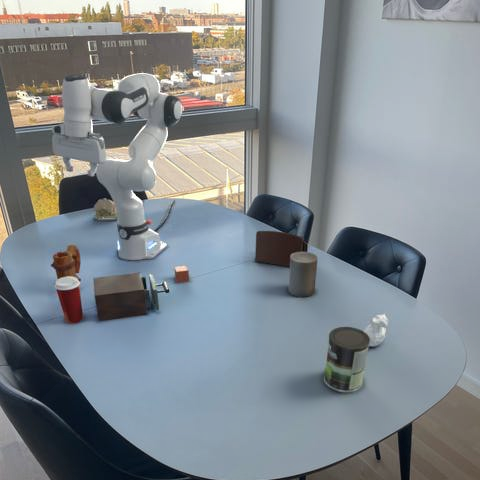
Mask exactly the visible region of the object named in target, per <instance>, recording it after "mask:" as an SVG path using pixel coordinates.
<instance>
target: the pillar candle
mask: <svg viewBox="0 0 480 480" xmlns="http://www.w3.org/2000/svg"><path fill="white" fill-rule="evenodd" d="M317 269H318V256H317V255H316V254H315V253H313V252H309V251H307V252H296V253H293V254H291V256H290V267H289V275H288V292H289V294H291V295H292V296H294V297H298V298H306V297H310V296H313V295H314V294H315V292H316V291H315V290H316V280H317V271H318V270H317Z"/></svg>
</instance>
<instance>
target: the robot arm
mask: <svg viewBox="0 0 480 480" xmlns="http://www.w3.org/2000/svg"><path fill="white" fill-rule="evenodd" d="M61 88H62V89H61V97H62V99H61V101H62V107H63V111H64V114H63V123H60V124H56V125H53V126H52V127H51V131H52V133H53V135H52V139H51V140H52V142H51V145H52V152H53V154H54V155H55V156H56V157H61V158H62V162H63V163H64V166H65V171H66V172H70V173H71V172H74V166H73V165H72V164H71V162H70V161H71V160H76V161H81V162H86V163H89V166H90V168H89V170H88V169H87V176H89V177H95V175H96V178H97V181H98V182H99V183H100V184H101V185H102V186H103V187H104V188H105V189H106V190H107V192H108V194H109V195H110V197H111V199H112V202H114V204H115V207H116V213H117V223H116V228H117V233H118V234H117V236H118V237H117V238H118V240H117V252H118V255H117V256H118V257H119V258H120V259H122V260H124V261H139V260H150V259H154V258H155V257H157V255H159V254H160V253H161V252H163V250H165V249H166V248H167V247H168V245H167V244H166V243H165V242H163V241H162V240H161V236H160V234H159V233H157V232H156V231H158V229H160V228H161V227H162V226H163V224H165V222H166V220H167V218H168V216H169V214H170V211H171V208H172V206H173V204H174V203H175V201H176V199H173V200H172V202H171V203H170V205H169V206H168V210H167V212H166V214H165V217H164V219H163V220H162V221H161V222H160V224H159V225H158V226H157V227H155V228H154V229H151V228H150V227H149V226H152V225H153V221H152V220H151V219H147V220H146V217H145V208H144V203H143V201H142V200H141V199H140V198H139V197H138V196H136V194H135V193H134V192H147V191H151V190H152V189H153V188H154V187H155V185H156V183H157V173H156V170H155V169H154V167H153V164H154V162H155V160H156V159H157V157H158V156H159V154H160V153H161V151H162V150H163V148H164V145H165V144H166V142H167V141H166V140H167V138H168V135H169V134H168V129H172V128H174V127H175V125H176V124H178V123H179V121H180V120H181V118H182V116H183V113H184V106H183V102H182V100H181V98H179V97H178V96H177V95H173V94H168V93H163V92H160V91H161V86H160V83H159V80H158V79H157V78H156V77H155V76H154V75H153V74H150V73H143V72H142V73H141V72H140V73H134V74H130V75H127V76H125V77H123V78H122V79H121V80H120V82H119V83H118V85H117V90H110V89H103V88H97V87H95V86H94V85H93V84H91V83H90V81H89V78H88V76H85V75H79V74H75V75H74V74H72V75H67V76H65V77H64V78H63V80H62V87H61ZM132 115H133V116H134V117H136V118H137V119H140V120H146V123H145V125H144V126H143V127H141V129H140V130H139V131H138V133H137V134H136V136H135V137H134V138H133V139H132V141H131V142H130V143H129V145H128V150H127V151H128V156H129V159H128V160H124V159H116V158H110V159H109V158H108V159H107V151H106V146H105V139H104V138H103V136H102V135H101V134H100V133H94V132H93V120H97V121H102V122H103V121H104V122H109V123H112V124H117V125H122V124H125V123H126V122H127V121H128V119H129V118H131V116H132ZM95 171H96V172H95ZM95 173H96V174H95Z"/></svg>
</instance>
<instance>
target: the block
mask: <svg viewBox="0 0 480 480" xmlns="http://www.w3.org/2000/svg"><path fill="white" fill-rule="evenodd" d="M189 273H190V272H189V268H188V266H187V265H181V266H180V265H178V266H174V279H175V280H176V283H178V284H179V283H185V282H190V274H189Z"/></svg>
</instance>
